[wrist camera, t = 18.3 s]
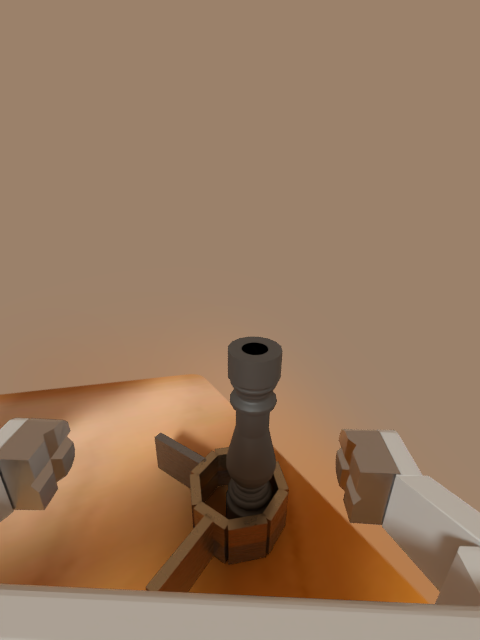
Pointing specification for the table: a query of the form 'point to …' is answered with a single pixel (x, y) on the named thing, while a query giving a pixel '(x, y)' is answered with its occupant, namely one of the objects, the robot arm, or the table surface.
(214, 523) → the octagonal collar with flanges
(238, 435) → the candle holder
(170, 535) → the table surface
